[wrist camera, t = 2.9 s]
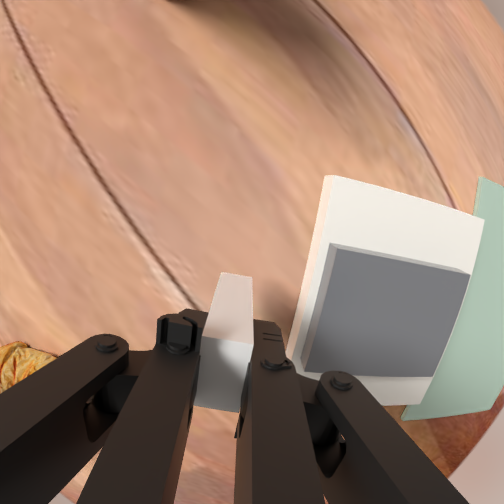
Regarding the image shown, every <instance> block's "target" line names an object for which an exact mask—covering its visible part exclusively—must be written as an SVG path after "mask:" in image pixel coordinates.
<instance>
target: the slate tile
mask: <svg viewBox="0 0 504 504" xmlns="http://www.w3.org/2000/svg"><path fill="white" fill-rule="evenodd" d="M470 276H471V275H470V274H468V273H466V272H464V271H462V270H460V269H458V268H453V267H449V266H444V265H439V264H434V263H430V262H425V261H420V260H415V259H411V258H406V257H401V256H396V255H391V254H386V253H381V252H376V251H371V250H366V249H361V248H356V247H351V246H345V245H340V244H335V243H329V247H328V252H327V256H326V260H325V265H324V269H323V273H322V277H321V281H320V286H319V290H318V294H317V298H316V301H315V305H314V309H313V313H312V317H311V321H310V324H309V328H308V332H307V335H306V339H305V343H304V346H303V350H302V353H301V357H300V359H301V363H302V367H303V370H304V372H313V373H324V372H327V371H343V372H347V373H349V374H351V375H355V376H378V377H433V375H434V373H435V371H436V368H437V366H438V364H439V362H440V359H441V357H442V355H443V352H444V350H445V348H446V345H447V343H448V340H449V338H450V335H451V333H452V330H453V327H454V325H455V322H456V319H457V316H458V314H459V311H460V308H461V305H462V302H463V299H464V296H465V293H466V289H467V286H468V283H469V279H470Z"/></svg>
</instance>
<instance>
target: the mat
mask: <svg viewBox="0 0 504 504" xmlns="http://www.w3.org/2000/svg"><path fill="white" fill-rule="evenodd" d="M473 216H476V217H479V218H481V219H484V220H485V221H484V226H483V231H482V236H481V240H480V245H479V249H478V253H477V257H476V261H475V265H474V268H473V272H472V275H471V279H470V282H469V286H468V289H467V292H466V295H465V298H464V301H463V304H462V307H461V310H460V313H459V316H458V319H457V322H456V324H455V327H454V330H453V332H452V335H451V337H450V340H449V342H448V345H447V347H446V350H445V352H444V354H443V357H442V359H441V361H440V364H439V366H438V368H437V370H436V372H435V375H434V377H433V379H432V381H431V383H430V385H429V387H428V389H427V391H426V393H425V395H424V397H423V399H422V401H421V403H420V404H415V405H407V406H406V408H405V410H404V412H403V413H402V415H401V419H402V421H408V420H420V419H430V418H439V417H447V416H454V415H461V414H468V413H474V412H479V411H485V410H490V409H491V407H492V405H493V404H494V402H495V400H496V398H497V397H498V395H499V393H500V391H501V389H502V387H503V385H504V187H503V186H501V185H499V184H497V183H495V182H492V181H490V180H488V179H486V178H484V177H479V179H478V186H477V193H476V199H475V205H474V210H473Z"/></svg>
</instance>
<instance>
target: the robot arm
mask: <svg viewBox="0 0 504 504" xmlns="http://www.w3.org/2000/svg"><path fill="white" fill-rule="evenodd" d="M193 404H194V405H195V406H200V407H206V408H211V409H218V410H224V411H231V412H238V413H239V410H240V415H239V419H238V423H237V428H236V432H235V436H234V438H237V446H236V467H235V489H234V504H325V500H324V496H325V498H326V500H327V501H328V503H329V504H469V503H468V502H467V500H466V499H465V498H464V497H463V496H462V495H461V494H460V493H459V492H458V490H456V489H455V487H454V486H453V485H452V484H451V483H450V482H449V480H448V479H447V478H446V477H445V476H444V475H443V474H442V473H441V471H440V470H439V469H438V468H437V467H436V466H435V465H434V464H433V463H432V461H431V460H430V459H429V458H428V457H427V456H426V455H425V454H424V453H423V451H422V450H421V449H420V448H419V447H418V446H417V445H416V444H415V442H414V441H413V440H412V439H411V438H410V437H409V436H408V435H407V433H406V432H405V431H404V430H403V429H402V428H401V427H400V426H399V425H398V423H397V422H396V421H395V420H394V419H393V418H392V417H391V416H390V414H389V413H388V412H387V411H386V410H385V409H384V408H383V407H382V405H381V404H380V403H379V402H378V401H377V400H376V399H375V398H374V396H373V395H372V394H371V393H370V392H369V391H368V390H367V389H366V387H365V386H364V385H363V384H362V383H361V382H360V381H359V380H358V379H357V378H356V377H354V376H353V375H351V374H349V373H347V372H343V371H327V372H324V373H323V374H322V375H321V377H320V380H315V379H312V378H308V377H305V376H302V375H300V374H298V373H297V372H296V368H295V365H294V363H293V362H292V361H291V360H290V359H288V358H287V357H286V353H285V348H284V343H283V338H282V333H281V329H280V328H279V327H278V326H277V325H276V324H275V323H274V322H268V321H262V320H255V319H253V295H252V277H248V276H242V275H236V274H231V273H225V272H221V274H220V278H219V281H218V284H217V287H216V291H215V294H214V297H213V300H212V304H211V307H210V310H209V313H208V312H202V311H197V310H192V309H185V310H183V311H181V312H179V314H166V315H163V316H161V317H160V318H158V319H157V335H156V345H155V346H154V348H153V350H148V351H130V350H129V344H128V343H127V342H126V340H124V339H123V338H121V337H119V336H115V335H112V334H100V335H95V336H93V337H90V338H89V339H87V340H85V341H84V342H82V343H80V344H79V345H77V346H76V347H74V348H72V349H71V350H69V351H68V352H66V353H64V354H63V355H61V356H59V357H58V358H56V359H55V360H53V361H51V362H50V363H48V364H47V365H45V366H43V367H42V368H40V369H39V370H37V371H35V372H34V373H32V374H31V375H29V376H28V377H26V378H24V379H23V380H21V381H20V382H18V383H16V384H15V385H13V386H12V387H10V388H9V389H7V390H5V391H4V392H2V393H1V394H0V504H48V503H49V502H50V501H51V500H52V499H53V498H54V497H55V496H56V495H57V494H58V493H59V492H60V491H61V490H62V489H63V488H64V487H65V486H66V485H67V484H68V483H69V482H70V481H71V480H72V478H73V477H74V476H75V475H76V474H77V473H78V472H79V471H80V470H81V469H82V468H83V467H84V466H85V465H86V464H87V463H88V462H89V461H90V460H91V458H92V457H93V456H94V455H95V454H96V453H97V452H98V451H99V450H100V449H101V448H102V447H103V448H102V450H101V452H100V454H99V456H98V458H97V460H96V462H95V464H94V467H93V469H92V471H91V473H90V475H89V477H88V479H87V481H86V484H85V486H84V488H83V490H82V492H81V494H80V497H79V499H78V501H77V503H76V504H174V499H175V494H176V489H177V484H178V479H179V475H180V470H181V465H182V460H183V456H184V451H185V446H186V442H187V437H188V433H189V428H190V424H191V419H192V413H193ZM341 434H342V436H343V437H344V439H345V440H344V439H343V438H342V436H341ZM323 494H324V495H323Z"/></svg>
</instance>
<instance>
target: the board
mask: <svg viewBox="0 0 504 504" xmlns="http://www.w3.org/2000/svg"><path fill="white" fill-rule="evenodd" d="M484 221H485V220H484V219H481V218H479V217H476V216H473V215H470V214H467V213H464V212H461V211H459V210H456V209H453V208H450V207H447V206H444V205H440V204H437V203H434V202H431V201H428V200H425V199H421V198H418V197H415V196H411V195H408V194H405V193H401V192H398V191H394V190H391V189H387V188H383V187H380V186H376V185H372V184H368V183H364V182H361V181H357V180H353V179H349V178H344V177H340V176H336V175H327V176H325V177H324V182H323V188H322V193H321V198H320V203H319V208H318V213H317V218H316V223H315V228H314V233H313V238H312V242H311V247H310V252H309V256H308V261H307V265H306V270H305V274H304V278H303V283H302V287H301V291H300V296H299V300H298V304H297V308H296V312H295V316H294V320H293V324H292V328H291V332H290V336H289V340H288V344H287V348H286V352H285V353H286V357H287V358H288V359H290V360H291V361H292V362H293V363H294V365H295V368H296V372H297V373H298V374H300V375H302V376H305V377H308V378H312V379H315V380H320V377H321V375H322V374H323V373H313V372H304V370H303V367H302V363H301V359H300V357H301V353H302V350H303V346H304V343H305V339H306V335H307V332H308V328H309V324H310V321H311V317H312V313H313V309H314V305H315V301H316V298H317V294H318V290H319V286H320V281H321V277H322V273H323V269H324V265H325V260H326V256H327V252H328V247H329V243H335V244H340V245H345V246H351V247H356V248H361V249H366V250H371V251H376V252H381V253H386V254H391V255H396V256H401V257H406V258H411V259H415V260H420V261H425V262H430V263H434V264H439V265H444V266H449V267H453V268H458V269H460V270H462V271H464V272H466V273H468V274H470V275H472V272H473V268H474V265H475V261H476V257H477V253H478V249H479V245H480V240H481V236H482V231H483V226H484ZM470 279H471V276H470ZM470 279H469V282H470ZM468 286H469V283H468ZM468 286H467V289H468ZM467 289H466V292H467ZM465 295H466V293H465ZM464 298H465V296H464ZM463 301H464V299H463ZM462 304H463V302H462ZM461 307H462V305H461ZM460 310H461V308H460ZM459 313H460V311H459ZM458 316H459V314H458ZM458 316H457V319H458ZM457 319H456V322H457ZM456 322H455V324H456ZM454 327H455V325H454ZM454 327H453V330H454ZM453 330H452V332H453ZM451 335H452V333H451ZM451 335H450V337H451ZM449 340H450V338H449ZM449 340H448V342H449ZM447 345H448V343H447ZM447 345H446V347H447ZM445 350H446V348H445ZM445 350H444V352H445ZM444 352H443V354H444ZM442 357H443V355H442ZM442 357H441V359H442ZM441 359H440V361H441ZM439 364H440V362H439ZM439 364H438V366H439ZM438 366H437V368H438ZM437 368H436V370H437ZM435 372H436V371H435ZM434 375H435V373H434ZM434 375H433V377H434ZM353 376H354V377H356V378H357V379H358V380H359V381H360V382H361V383H362V384H363V385H364V386H365V387H366V389H367V390H368V391H369V392H370V393H371V394H372V395H373V396H374V398H375V399H376V400H377V401H378V402H379V403H380V404H381V405H382V406H390V405H415V404H420V403H421V401H422V399H423V397H424V395H425V393H426V391H427V389H428V387H429V385H430V383H431V381H432V379H433V377H378V376H355V375H353Z"/></svg>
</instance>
